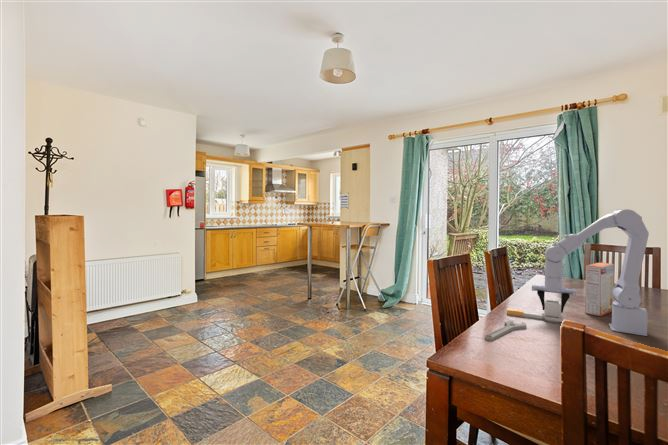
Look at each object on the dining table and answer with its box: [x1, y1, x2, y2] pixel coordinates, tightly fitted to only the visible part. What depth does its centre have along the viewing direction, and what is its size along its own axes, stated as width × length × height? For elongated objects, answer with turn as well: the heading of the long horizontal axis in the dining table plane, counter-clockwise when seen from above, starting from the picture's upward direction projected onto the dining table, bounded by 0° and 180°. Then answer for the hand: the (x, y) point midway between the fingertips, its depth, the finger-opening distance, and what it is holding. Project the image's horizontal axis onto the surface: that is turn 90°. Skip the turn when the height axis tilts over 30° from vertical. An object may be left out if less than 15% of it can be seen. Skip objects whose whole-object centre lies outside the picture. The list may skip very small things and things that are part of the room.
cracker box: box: [584, 262, 615, 317], centre depth 141 cm, size 14×6×21 cm, turn 123°
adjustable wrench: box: [484, 320, 527, 342], centre depth 118 cm, size 25×6×2 cm, turn 123°
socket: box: [543, 298, 562, 317], centre depth 130 cm, size 5×5×5 cm
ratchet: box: [506, 308, 564, 325], centre depth 133 cm, size 20×7×5 cm, turn 58°
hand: (552, 310), depth 130 cm, fingers closed on socket, 5 cm apart
